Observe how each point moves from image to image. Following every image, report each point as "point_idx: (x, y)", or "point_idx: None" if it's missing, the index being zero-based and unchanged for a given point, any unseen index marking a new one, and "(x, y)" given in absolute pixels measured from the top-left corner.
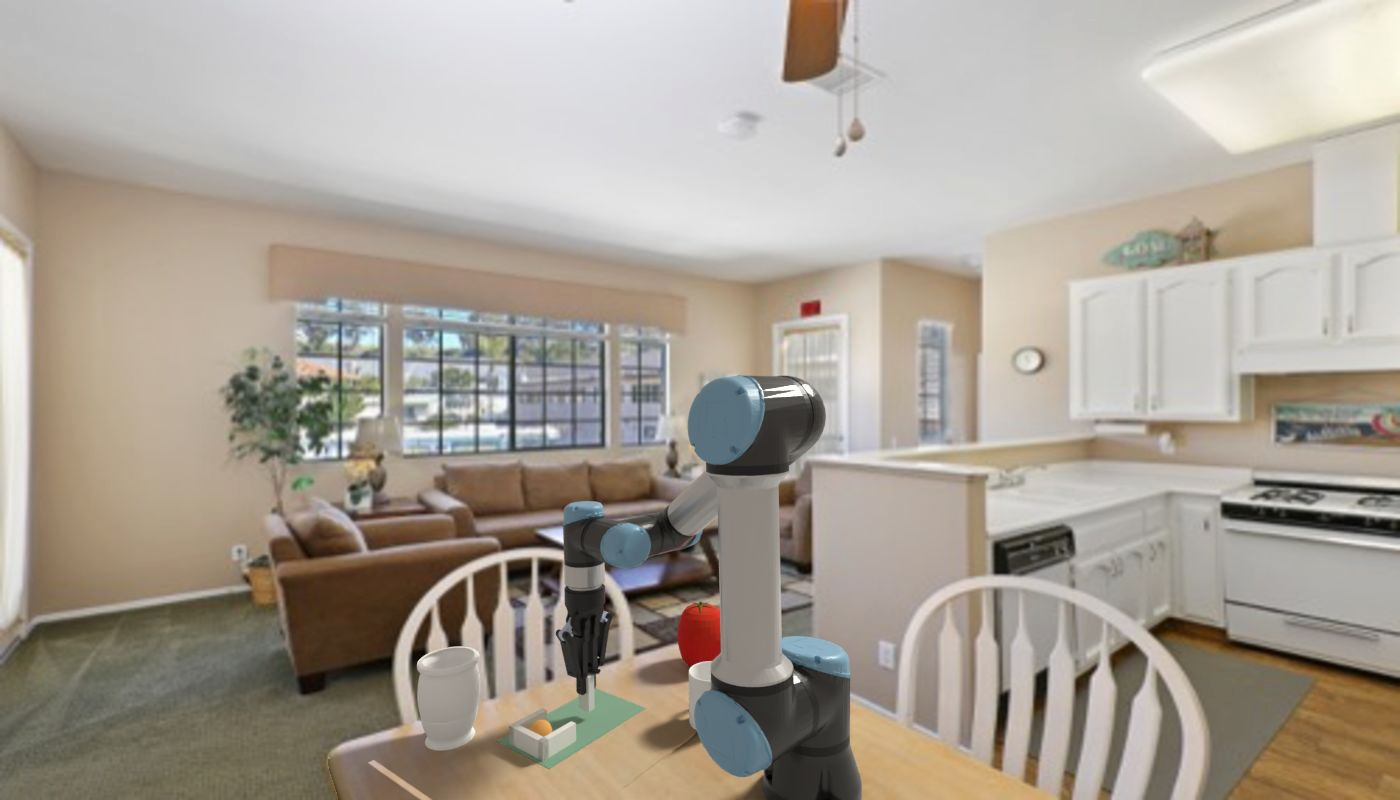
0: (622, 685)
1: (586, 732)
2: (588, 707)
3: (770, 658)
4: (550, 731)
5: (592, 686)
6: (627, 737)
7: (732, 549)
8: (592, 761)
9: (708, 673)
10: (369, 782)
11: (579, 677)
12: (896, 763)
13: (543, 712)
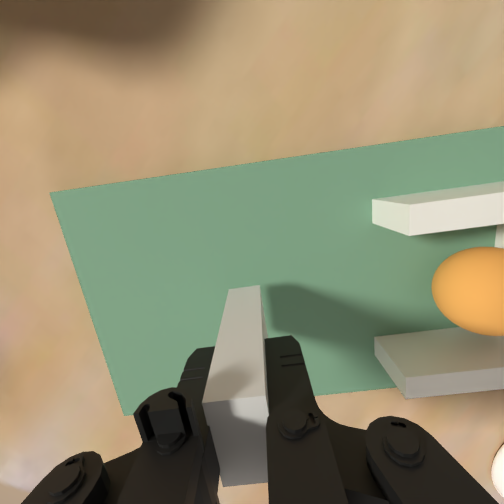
0: (39, 378)
1: (311, 218)
2: (260, 294)
3: None
4: (480, 256)
5: (228, 345)
6: (214, 94)
7: None
8: (404, 60)
9: None
10: None
11: (375, 422)
12: None
13: (420, 374)
